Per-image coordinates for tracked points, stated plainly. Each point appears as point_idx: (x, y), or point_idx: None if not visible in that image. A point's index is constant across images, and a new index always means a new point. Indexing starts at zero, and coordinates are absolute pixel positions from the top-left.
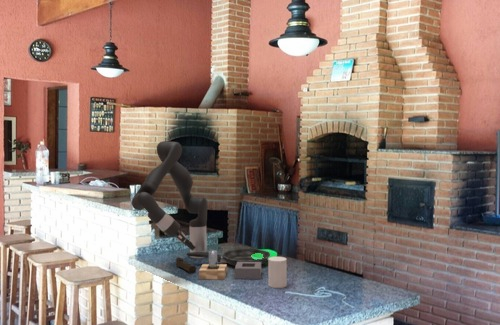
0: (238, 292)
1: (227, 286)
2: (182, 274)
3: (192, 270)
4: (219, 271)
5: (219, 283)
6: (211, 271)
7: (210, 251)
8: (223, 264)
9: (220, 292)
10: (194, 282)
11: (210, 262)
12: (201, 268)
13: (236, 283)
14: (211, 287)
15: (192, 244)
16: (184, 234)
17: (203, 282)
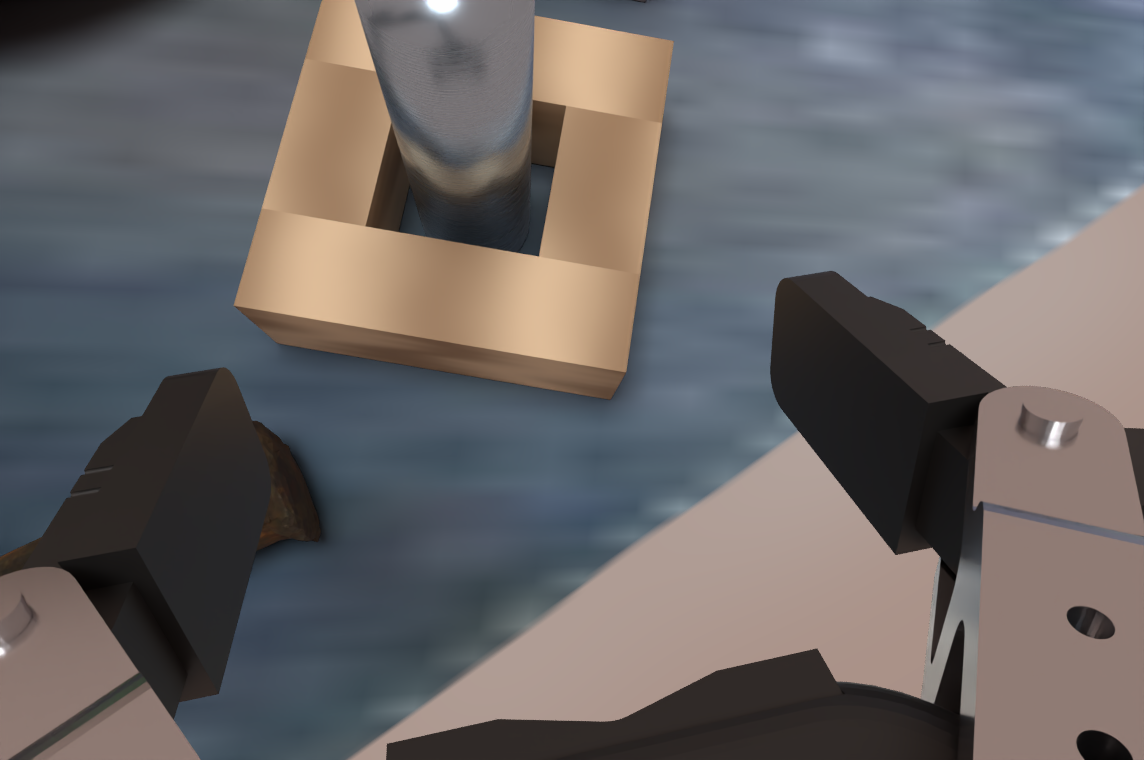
0: (1098, 24)
1: (910, 102)
2: (339, 636)
3: (301, 482)
4: (663, 101)
5: (801, 172)
6: (650, 200)
7: (475, 17)
8: (334, 20)
9: (1108, 184)
10: (743, 457)
11: (516, 153)
12: (500, 330)
13: (810, 8)
14: (944, 264)
15: (903, 329)
16: (173, 756)
17: (751, 346)
